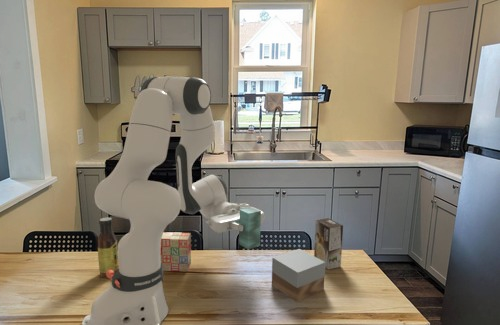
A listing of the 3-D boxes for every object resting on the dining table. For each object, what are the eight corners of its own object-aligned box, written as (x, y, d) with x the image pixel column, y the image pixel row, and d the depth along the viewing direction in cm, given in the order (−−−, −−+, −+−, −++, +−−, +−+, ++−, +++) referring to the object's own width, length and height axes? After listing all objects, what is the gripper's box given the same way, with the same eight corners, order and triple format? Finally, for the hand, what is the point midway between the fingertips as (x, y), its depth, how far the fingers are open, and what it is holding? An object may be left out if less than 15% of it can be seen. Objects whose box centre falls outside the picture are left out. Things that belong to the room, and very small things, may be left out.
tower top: (297, 288, 101) (297, 272, 100) (272, 271, 111) (272, 257, 110) (324, 276, 108) (325, 262, 107) (298, 262, 118) (299, 248, 117)
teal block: (247, 249, 109) (248, 213, 107) (238, 244, 113) (239, 209, 111) (259, 245, 112) (260, 210, 110) (250, 240, 116) (251, 207, 114)
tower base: (298, 302, 102) (298, 287, 101) (271, 285, 111) (272, 271, 111) (323, 289, 110) (324, 275, 109) (296, 274, 119) (297, 261, 118)
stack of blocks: (128, 270, 120) (126, 237, 118) (134, 262, 126) (133, 231, 124) (188, 271, 120) (187, 239, 118) (191, 263, 126) (190, 232, 124)
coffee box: (341, 266, 125) (344, 225, 122) (327, 270, 122) (330, 228, 119) (326, 256, 133) (328, 217, 130) (312, 259, 130) (314, 219, 127)
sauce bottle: (119, 276, 116) (116, 221, 112) (99, 280, 113) (95, 223, 110) (118, 267, 122) (115, 215, 118) (99, 271, 119) (95, 217, 115)
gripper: (202, 211, 115) (225, 223, 104) (250, 202, 127) (274, 212, 116) (202, 229, 116) (225, 242, 105) (249, 218, 128) (274, 229, 117)
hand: (251, 226), depth 111 cm, fingers closed on teal block, 5 cm apart
